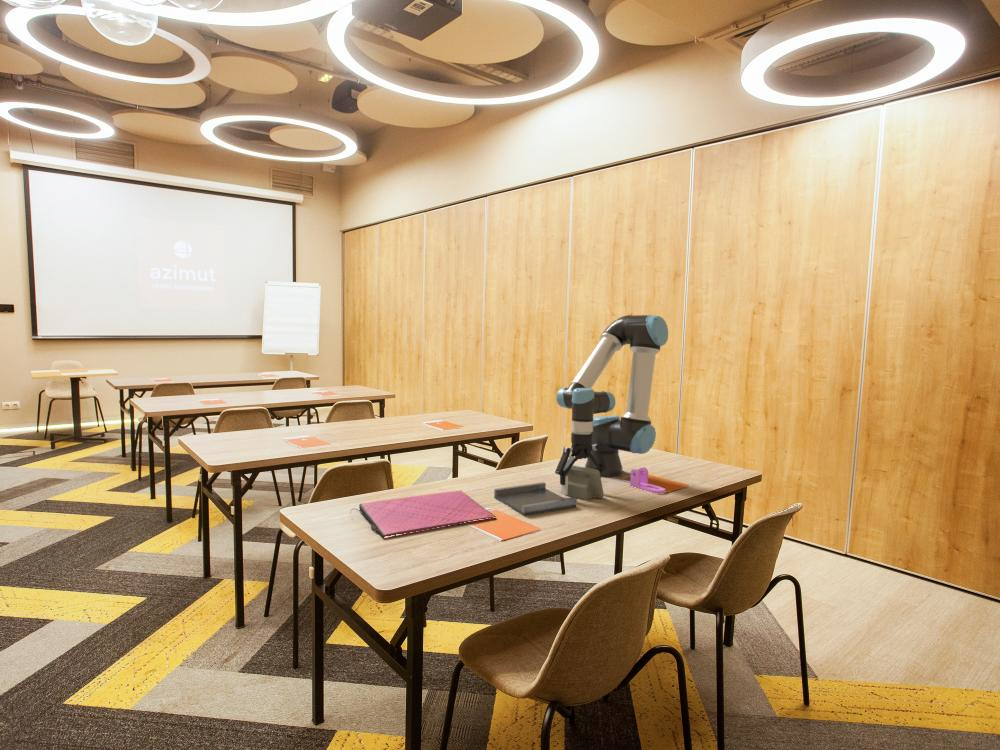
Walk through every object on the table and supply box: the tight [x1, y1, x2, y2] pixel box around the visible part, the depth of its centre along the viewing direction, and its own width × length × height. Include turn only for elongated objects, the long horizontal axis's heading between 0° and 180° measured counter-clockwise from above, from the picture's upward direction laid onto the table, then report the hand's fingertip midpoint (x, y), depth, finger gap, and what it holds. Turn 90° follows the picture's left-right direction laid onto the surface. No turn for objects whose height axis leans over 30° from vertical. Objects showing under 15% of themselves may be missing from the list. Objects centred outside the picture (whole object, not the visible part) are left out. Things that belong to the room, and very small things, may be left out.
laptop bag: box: [350, 490, 497, 539], centre depth 177 cm, size 40×4×27 cm
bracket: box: [629, 466, 666, 494], centre depth 208 cm, size 13×6×7 cm, turn 36°
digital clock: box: [566, 464, 605, 501], centre depth 200 cm, size 16×9×11 cm, turn 38°
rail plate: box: [493, 481, 578, 517], centre depth 192 cm, size 20×21×3 cm
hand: (580, 491), depth 200 cm, fingers open, 13 cm apart
